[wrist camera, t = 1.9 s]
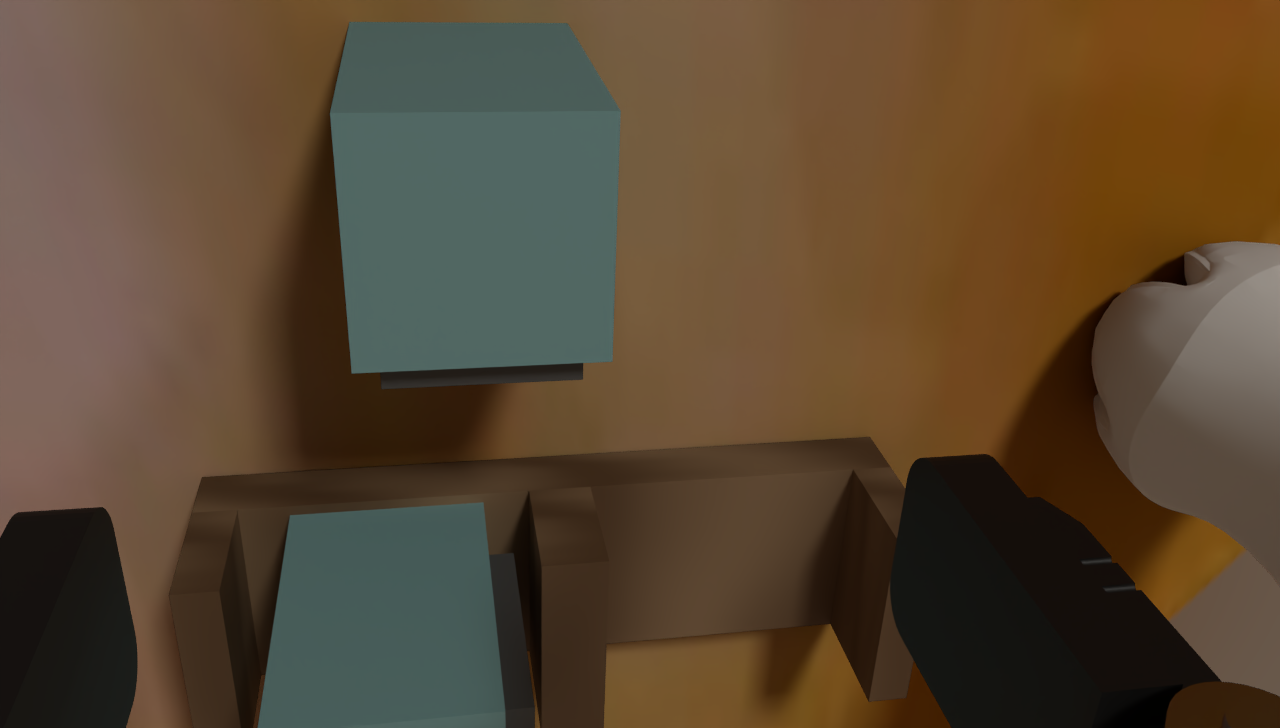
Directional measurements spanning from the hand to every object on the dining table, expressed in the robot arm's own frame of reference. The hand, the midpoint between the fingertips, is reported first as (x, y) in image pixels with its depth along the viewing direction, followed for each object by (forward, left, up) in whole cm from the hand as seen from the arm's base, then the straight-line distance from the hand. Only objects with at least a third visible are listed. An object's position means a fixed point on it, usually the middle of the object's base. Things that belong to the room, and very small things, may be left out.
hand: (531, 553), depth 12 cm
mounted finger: (-2, -11, -14) cm, 18 cm away
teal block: (0, 0, -15) cm, 15 cm away
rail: (+2, -11, -15) cm, 19 cm away
